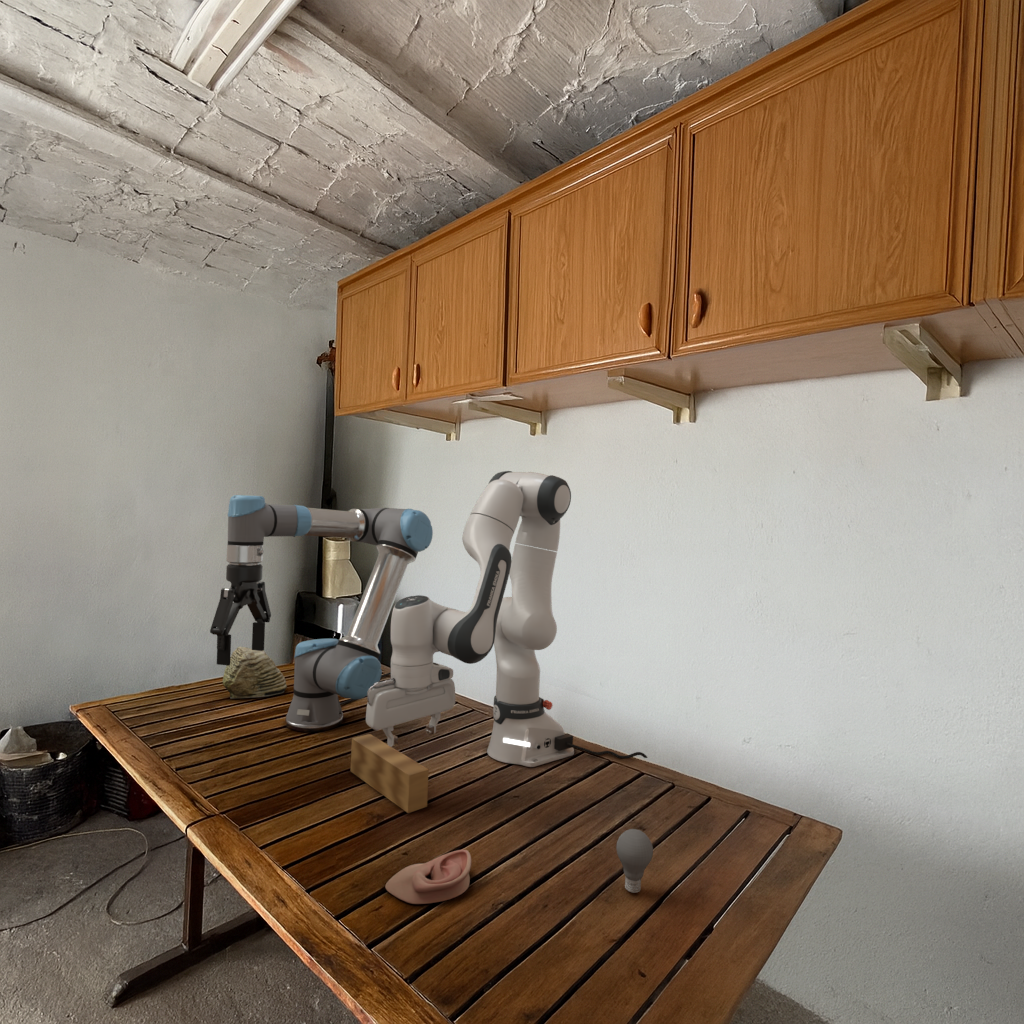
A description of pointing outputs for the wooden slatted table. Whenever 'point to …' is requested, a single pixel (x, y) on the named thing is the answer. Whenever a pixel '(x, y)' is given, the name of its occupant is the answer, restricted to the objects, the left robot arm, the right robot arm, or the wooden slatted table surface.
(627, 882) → the light bulb
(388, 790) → the bar
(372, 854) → the wooden slatted table surface
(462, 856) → the anatomical model
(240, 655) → the fossil
